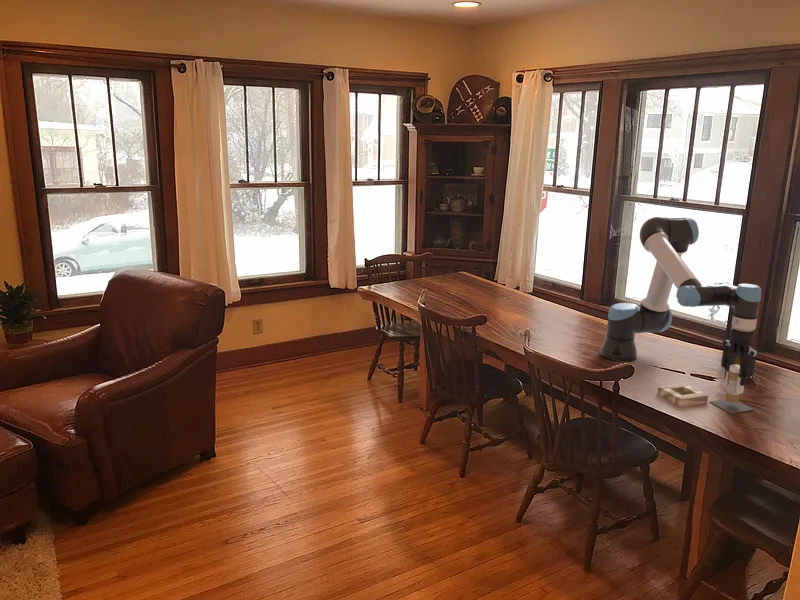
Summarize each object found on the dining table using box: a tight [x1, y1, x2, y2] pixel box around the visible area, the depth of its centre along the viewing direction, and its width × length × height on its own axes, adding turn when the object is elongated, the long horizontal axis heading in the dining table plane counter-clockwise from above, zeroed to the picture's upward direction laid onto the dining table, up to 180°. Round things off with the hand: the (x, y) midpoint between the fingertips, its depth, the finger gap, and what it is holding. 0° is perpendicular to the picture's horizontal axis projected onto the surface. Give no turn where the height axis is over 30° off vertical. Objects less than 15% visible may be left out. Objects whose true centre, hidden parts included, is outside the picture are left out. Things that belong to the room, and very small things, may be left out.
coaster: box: [709, 398, 754, 415], centre depth 223 cm, size 10×10×1 cm
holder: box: [657, 382, 709, 408], centre depth 230 cm, size 12×12×3 cm
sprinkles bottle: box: [724, 364, 740, 403], centre depth 221 cm, size 5×5×13 cm
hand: (733, 390), depth 222 cm, fingers closed on sprinkles bottle, 4 cm apart
